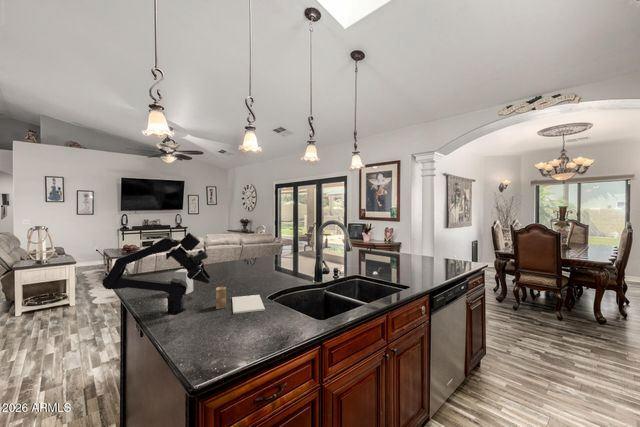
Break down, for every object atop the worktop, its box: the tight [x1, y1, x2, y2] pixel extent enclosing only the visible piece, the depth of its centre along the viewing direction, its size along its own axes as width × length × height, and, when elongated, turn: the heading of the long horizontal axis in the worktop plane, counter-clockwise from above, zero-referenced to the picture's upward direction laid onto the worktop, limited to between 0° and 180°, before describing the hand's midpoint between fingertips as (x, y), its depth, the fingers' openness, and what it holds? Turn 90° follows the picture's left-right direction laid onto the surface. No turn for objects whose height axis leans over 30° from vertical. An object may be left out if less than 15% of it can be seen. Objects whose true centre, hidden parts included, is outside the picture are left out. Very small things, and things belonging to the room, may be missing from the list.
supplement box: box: [173, 268, 194, 295], centre depth 155 cm, size 7×7×13 cm
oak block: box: [215, 286, 227, 310], centre depth 133 cm, size 4×4×9 cm
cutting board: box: [231, 294, 266, 314], centre depth 137 cm, size 14×22×1 cm, turn 19°
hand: (209, 280), depth 131 cm, fingers open, 9 cm apart
